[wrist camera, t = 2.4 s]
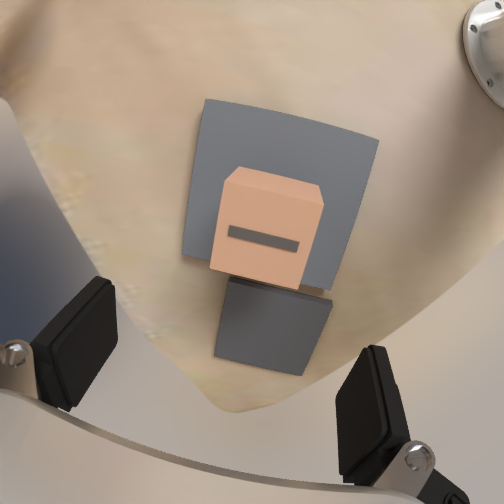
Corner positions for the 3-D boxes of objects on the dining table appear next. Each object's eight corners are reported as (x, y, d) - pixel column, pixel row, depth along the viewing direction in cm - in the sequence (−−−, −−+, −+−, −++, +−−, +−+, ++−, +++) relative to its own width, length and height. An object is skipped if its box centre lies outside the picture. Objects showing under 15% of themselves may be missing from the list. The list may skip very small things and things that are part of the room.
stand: (375, 138, 25) (379, 140, 24) (328, 282, 32) (330, 290, 31) (210, 99, 26) (205, 98, 25) (186, 247, 33) (181, 254, 31)
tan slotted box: (318, 185, 23) (324, 205, 18) (298, 256, 25) (297, 290, 21) (239, 166, 23) (224, 181, 18) (225, 238, 26) (209, 268, 21)
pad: (331, 300, 33) (332, 306, 32) (301, 370, 38) (301, 376, 37) (230, 276, 33) (228, 281, 32) (215, 350, 38) (214, 356, 37)
